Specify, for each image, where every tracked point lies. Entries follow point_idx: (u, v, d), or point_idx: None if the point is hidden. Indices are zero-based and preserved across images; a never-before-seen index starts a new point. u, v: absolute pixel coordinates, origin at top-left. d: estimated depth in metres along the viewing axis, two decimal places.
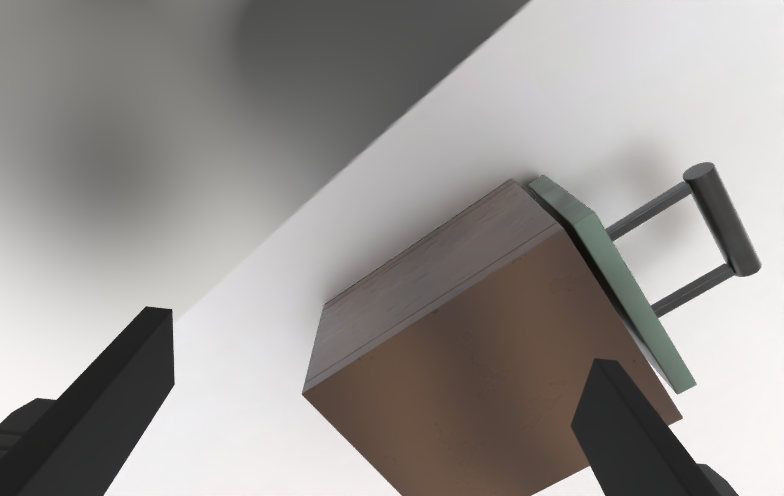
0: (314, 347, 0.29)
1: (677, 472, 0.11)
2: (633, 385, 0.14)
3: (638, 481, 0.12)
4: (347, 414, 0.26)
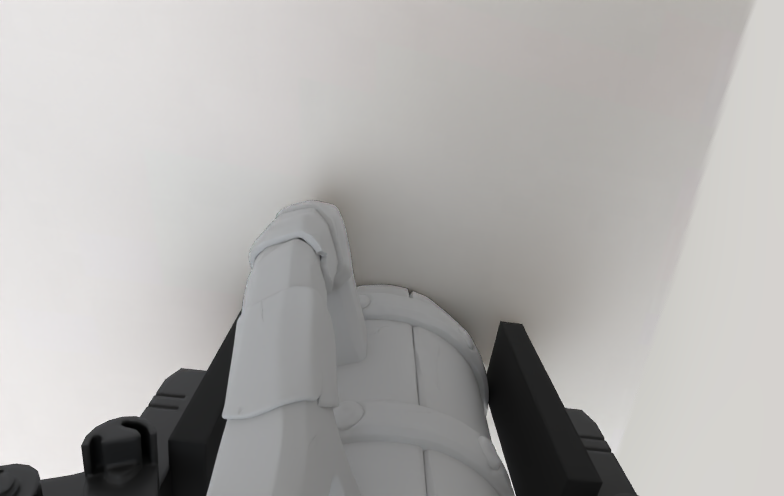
0: None
1: (542, 411, 0.12)
2: (529, 343, 0.15)
3: (519, 424, 0.13)
4: None
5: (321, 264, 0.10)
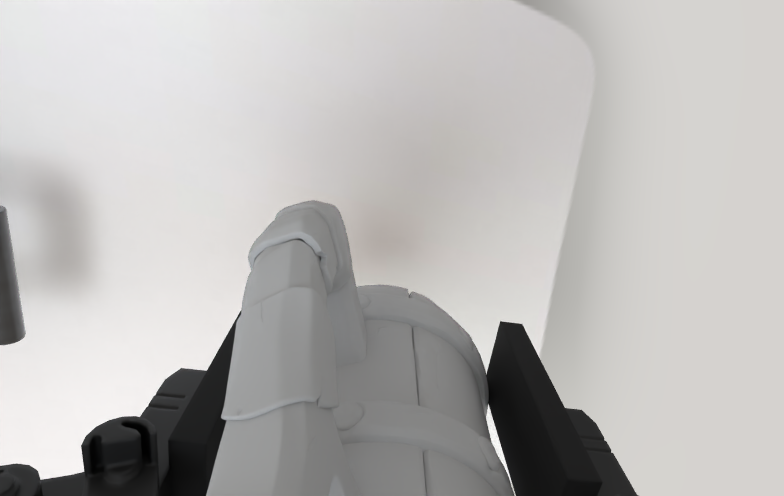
0: None
1: (542, 411, 0.12)
2: (528, 344, 0.15)
3: (519, 424, 0.13)
4: None
5: (321, 265, 0.10)
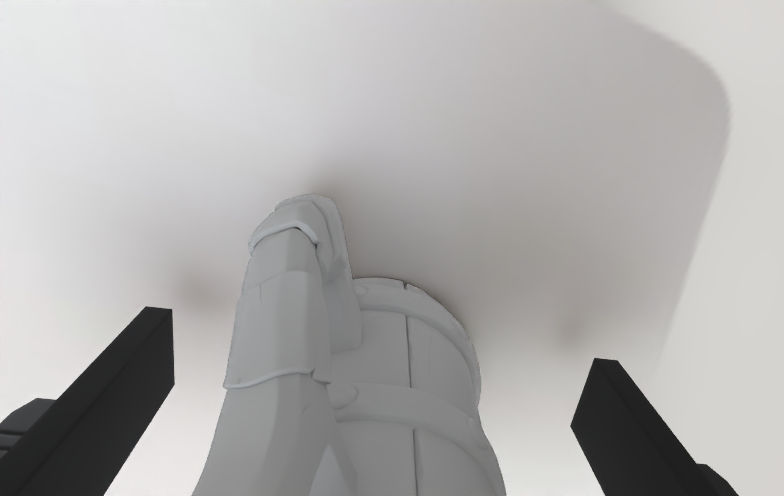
0: None
1: (677, 472, 0.11)
2: (633, 385, 0.14)
3: (638, 481, 0.12)
4: None
5: (316, 253, 0.11)
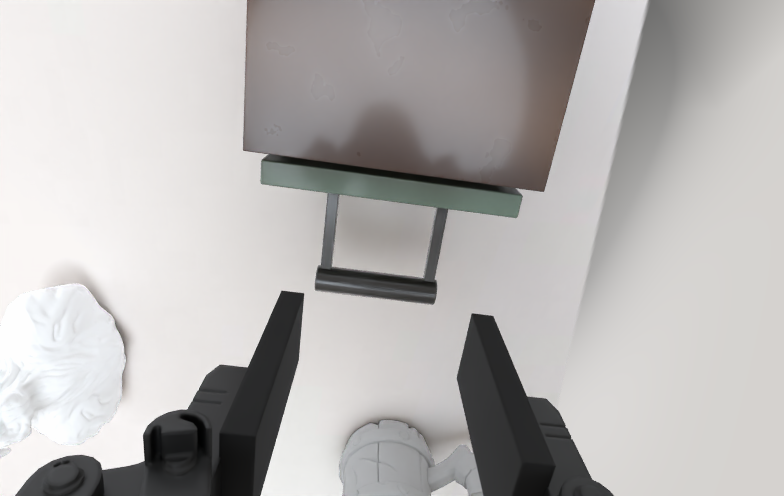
0: None
1: (503, 398, 0.12)
2: (498, 334, 0.15)
3: (484, 413, 0.14)
4: None
5: None
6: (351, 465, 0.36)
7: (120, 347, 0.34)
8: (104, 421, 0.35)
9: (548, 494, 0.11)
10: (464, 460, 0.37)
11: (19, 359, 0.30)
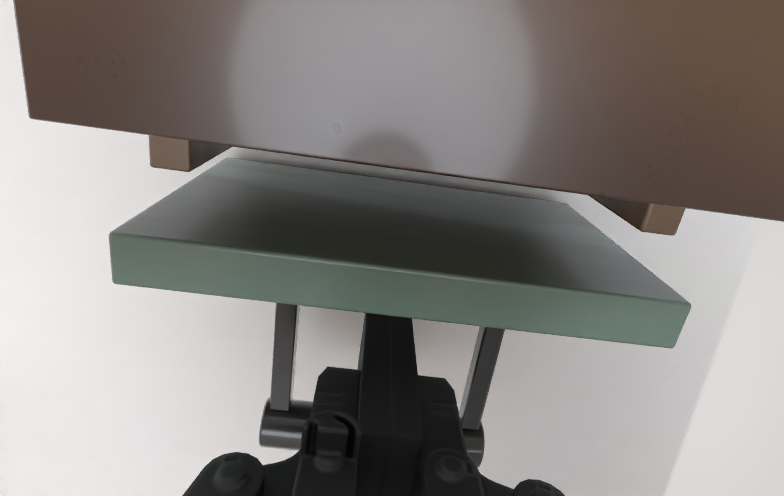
0: None
1: (393, 376, 0.13)
2: None
3: None
4: None
5: None
6: None
7: None
8: None
9: (417, 467, 0.11)
10: None
11: None
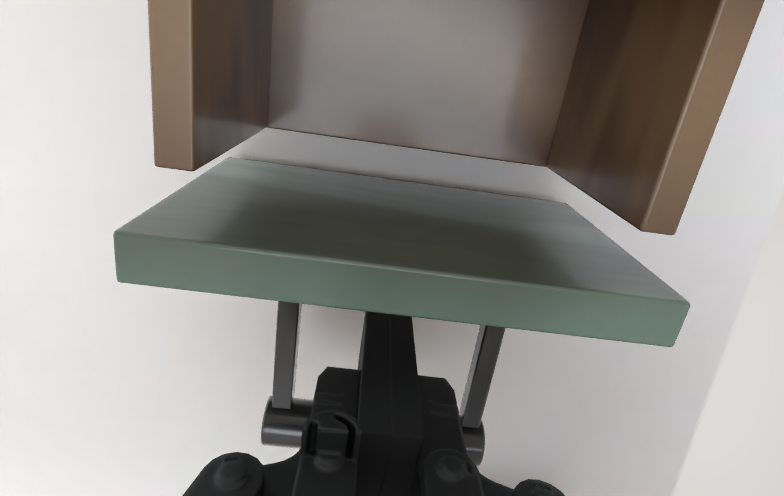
0: None
1: (393, 376, 0.13)
2: (408, 317, 0.16)
3: None
4: None
5: None
6: None
7: None
8: None
9: (417, 466, 0.11)
10: None
11: None
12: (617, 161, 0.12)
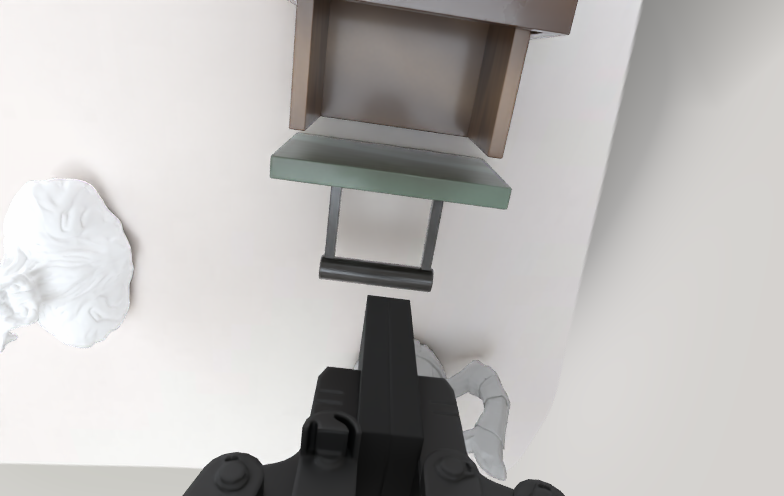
0: None
1: (393, 376, 0.13)
2: (408, 317, 0.16)
3: None
4: None
5: None
6: None
7: (128, 250, 0.34)
8: (112, 326, 0.34)
9: (417, 467, 0.11)
10: (478, 371, 0.36)
11: (26, 247, 0.29)
12: (485, 129, 0.26)
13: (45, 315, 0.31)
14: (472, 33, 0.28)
